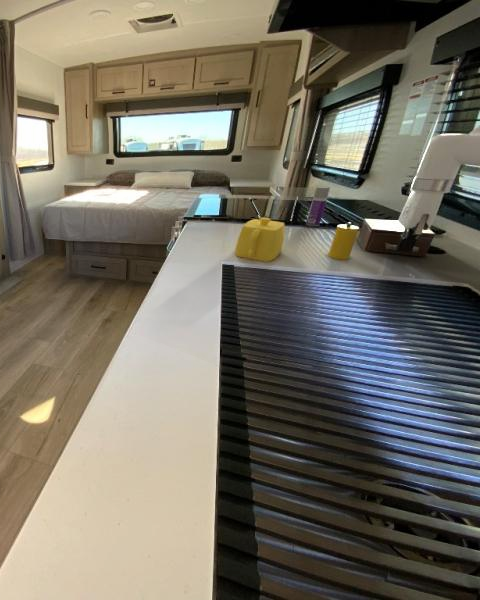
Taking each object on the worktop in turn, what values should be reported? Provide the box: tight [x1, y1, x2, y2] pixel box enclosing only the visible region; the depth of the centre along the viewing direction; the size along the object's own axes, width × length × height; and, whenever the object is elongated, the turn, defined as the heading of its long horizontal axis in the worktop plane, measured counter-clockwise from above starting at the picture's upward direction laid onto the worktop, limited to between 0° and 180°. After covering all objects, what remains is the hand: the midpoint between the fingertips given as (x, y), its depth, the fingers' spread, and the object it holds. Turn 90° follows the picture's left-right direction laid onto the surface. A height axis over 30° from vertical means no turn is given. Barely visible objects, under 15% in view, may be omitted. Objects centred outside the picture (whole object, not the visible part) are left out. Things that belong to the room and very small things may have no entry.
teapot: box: [235, 217, 285, 263], centre depth 107 cm, size 20×12×12 cm, turn 138°
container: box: [305, 185, 331, 227], centre depth 134 cm, size 5×5×15 cm
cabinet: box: [356, 218, 436, 256], centre depth 107 cm, size 15×15×8 cm
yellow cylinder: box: [327, 221, 360, 260], centre depth 100 cm, size 5×5×11 cm
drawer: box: [367, 232, 434, 257], centre depth 104 cm, size 18×13×6 cm
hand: (403, 250), depth 97 cm, fingers closed
